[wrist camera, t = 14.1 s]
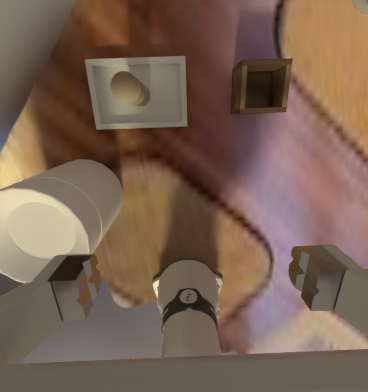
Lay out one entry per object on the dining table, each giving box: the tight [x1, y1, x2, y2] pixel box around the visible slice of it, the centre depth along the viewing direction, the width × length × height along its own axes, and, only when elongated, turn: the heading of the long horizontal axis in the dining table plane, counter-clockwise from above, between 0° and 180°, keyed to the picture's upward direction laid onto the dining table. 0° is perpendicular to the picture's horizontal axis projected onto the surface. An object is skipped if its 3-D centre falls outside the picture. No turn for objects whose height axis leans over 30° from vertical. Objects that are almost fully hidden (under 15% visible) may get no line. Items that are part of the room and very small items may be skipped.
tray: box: [85, 56, 187, 130], centre depth 41 cm, size 12×18×2 cm, turn 92°
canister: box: [0, 159, 123, 283], centre depth 40 cm, size 16×16×20 cm
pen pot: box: [231, 59, 292, 114], centre depth 39 cm, size 8×8×7 cm
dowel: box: [110, 71, 150, 106], centre depth 36 cm, size 4×4×12 cm
